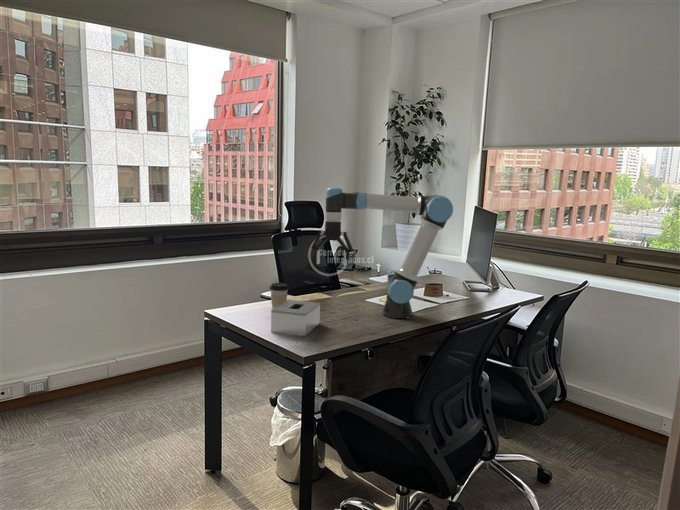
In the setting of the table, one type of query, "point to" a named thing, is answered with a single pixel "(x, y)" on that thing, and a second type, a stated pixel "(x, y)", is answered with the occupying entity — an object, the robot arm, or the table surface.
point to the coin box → (295, 317)
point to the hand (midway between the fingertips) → (331, 265)
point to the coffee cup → (278, 293)
